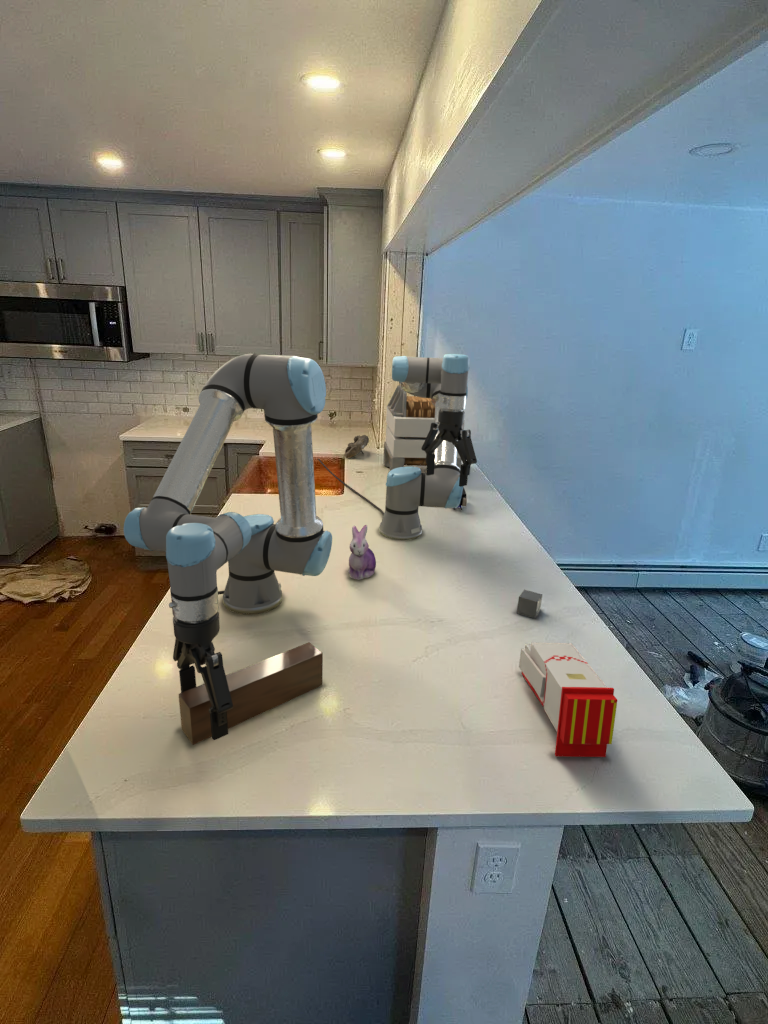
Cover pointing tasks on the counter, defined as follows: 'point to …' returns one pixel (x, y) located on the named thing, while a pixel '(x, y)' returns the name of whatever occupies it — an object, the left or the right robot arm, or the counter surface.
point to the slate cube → (529, 603)
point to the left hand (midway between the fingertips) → (204, 716)
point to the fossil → (356, 446)
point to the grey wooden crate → (408, 430)
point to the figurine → (361, 555)
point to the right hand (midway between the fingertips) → (446, 480)
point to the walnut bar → (254, 690)
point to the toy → (570, 698)
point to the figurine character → (462, 500)
